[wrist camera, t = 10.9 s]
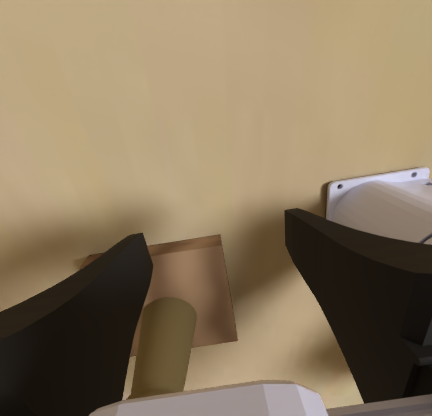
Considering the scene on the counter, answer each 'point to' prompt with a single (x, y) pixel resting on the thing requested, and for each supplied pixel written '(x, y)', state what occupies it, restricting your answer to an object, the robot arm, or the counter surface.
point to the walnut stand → (192, 286)
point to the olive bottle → (163, 347)
